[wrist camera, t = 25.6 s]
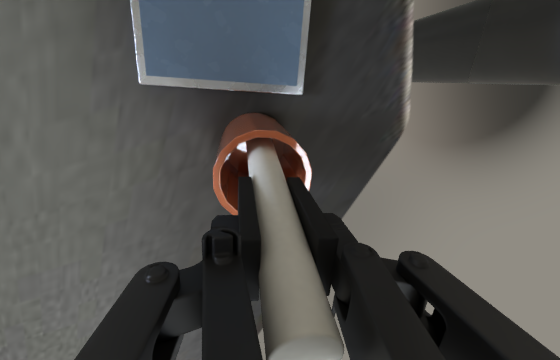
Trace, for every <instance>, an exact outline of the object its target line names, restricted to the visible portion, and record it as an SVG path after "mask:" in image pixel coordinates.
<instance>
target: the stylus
mask: <svg viewBox="0 0 560 360" xmlns="http://www.w3.org/2000/svg"><path fill="white" fill-rule="evenodd" d="M246 148H247V159H248V170H249V177H252V184H253V190H254V196H255V203H256V209H257V215H258V222H259V228H260V234H261V260H260V270H259V275H258V276H259V289H260V299H261V310H262V321H263V331H264V343H265V353H266V360H341V359H342V357H343V354H344V344H343V341H342V339H341V336H340V333H339V330H338V327H337V325H336V322H335V319H334V316H333V313H332V310H331V307H330V304H329V302H328V299H327V296H326V293H325V290H324V287H323V284H322V282H321V279H320V276H319V273H318V270H317V267H316V264H315V262H314V259H313V256H312V253H311V250H310V247H309V245H308V242H307V239H306V236H305V233H304V230H303V227H302V225H301V222H300V219H299V216H298V213H297V210H296V207H295V205H294V202H293V199H292V196H291V193H290V190H289V188H288V185H287V182H286V179H285V176H284V173H283V170H282V168H281V165H280V162H279V159H278V156H277V153H276V150H275V148H274V145H273V142H272V139H271V138H258V137H257V138H254V139H251V140H249V141H246Z"/></svg>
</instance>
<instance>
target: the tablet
mask: <svg viewBox="0 0 560 360" xmlns="http://www.w3.org/2000/svg"><path fill="white" fill-rule="evenodd" d="M311 1H312V0H130V4H131V13H132V22H133V31H134V40H135V49H136V58H137V67H138V76H139V84H140V85H152V86H168V87H183V88H198V89H214V90H229V91H245V92H260V93H276V94H291V95H303V87H304V77H305V66H306V55H307V44H308V34H309V23H310V12H311Z"/></svg>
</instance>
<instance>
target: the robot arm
mask: <svg viewBox="0 0 560 360" xmlns="http://www.w3.org/2000/svg"><path fill="white" fill-rule="evenodd" d="M287 185H288V188H289V190H290V193H291V196H292V199H293V202H294V205H295V207H296V210H297V213H298V216H299V219H300V222H301V225H302V227H303V230H304V233H305V236H306V239H307V242H308V245H309V247H310V250H311V253H312V256H313V259H314V262H315V264H316V267H317V270H318V273H319V276H320V279H321V282H322V284H323V287H324V290H325V293H326V296H329V293H330V288H331V285H332V287H333V289H334V291H335V295H334V301H333V306H332V313H333V316H335V313H336V314H337V317H338V321H339V324H340V327H341V331H342V334H343V337H344V340H345V344H346V347H347V351H348V354H349V357H350V360H560V358H559V357H558V356H556V355H555V354H554V353H552V352H551V351H550V350H549V349H547V348H546V347H545V346H543V345H542V344H541V343H540V342H538V341H537V340H536V339H534V338H533V337H532V336H531V335H529V334H528V333H527V332H525V331H524V330H523V329H522V328H520V327H519V326H518V325H516V324H515V323H514V322H513V321H511V320H510V319H509V318H507V317H506V316H505V315H503V314H502V313H501V312H500V311H498V310H497V309H496V308H495V307H493V306H492V305H491V304H489V303H488V302H487V301H486V300H484V299H483V298H481V297H480V296H479V295H478V294H477V293H475V292H474V291H473V290H471V289H470V288H469V287H468V286H466V285H465V284H464V283H462V282H461V281H460V280H458V279H457V278H456V277H455V276H453V275H452V274H451V273H449V272H448V271H447V270H446V269H444V268H443V267H442V266H441V265H439V264H438V263H437V262H435V261H434V260H433V259H431V258H430V257H428V256H426V255H424V254H421V253H419V252H416V251H404V252H402V253H401V254H400V255H399V259H398V261H397V260H391V259H386V258H380V257H379V255H378V254H377V252H376V251H375V250H374V249H373V248H371V247H370V246H368V245H365V244H362V243H358V241H357V240H356V239H355V237H354V236H353V235H352V233H351V232H350V231H349V230H348V228H347V227H346V225H344V222H343V221H342V220H341V218H339V217H338V216H336V215H335V214H333V213H322V211H321V210H320V208H319V207H318V205H317V203H316V202H315V200H314V199H313V197H312V196H311V194H310V193H309V191H308V189H307V188H306V186H305V185H304V183H303V182H302V180H301V179H300V177H287ZM202 256H203V260H202V261H201V262H200V263H198V264H196V265H194V266H192V267H189V268H186V269H182V270H179V269H178V267H177V266H176V265H175V264H173V263H169V262H156V263H153V264H150V265H147V266H146V267H144V268H142V269H140V270H139V271H138V272H137V273H136V274H135V276H134V277H133V278H132V280H131V281H130V283H129V284H128V285H127V287H126V288H125V290H124V291H123V292H122V294H121V295H120V297H119V298H118V299H117V301H116V302H115V304H114V305H113V306H112V308H111V309H110V311H109V312H108V313H107V315H106V316H105V318H104V319H103V320H102V322H101V323H100V325H99V326H98V327H97V329H96V330H95V332H94V333H93V334H92V336H91V337H90V338H89V340H88V341H87V343H86V344H85V345H84V347H83V348H82V350H81V351H80V352H79V354H78V355H77V357H76V358H75V359H74V360H175V359H176V357H177V354H178V351H179V348H180V345H181V342H182V340H183V336H184V334H185V333H188V332H191V331H193V330H196V329H199V328H201V327H202V360H263V359H262V355H261V349H260V345H259V340H258V335H257V330H256V325H255V320H254V315H253V311H252V306H251V301H258V299H259V276H258V275H259V270H260V260H261V234H260V228H259V222H258V215H257V209H256V203H255V196H254V190H253V184H252V177H238V215H217V216H216V217H215V218H214V219H213V220H212V224H211V230H210V231H208V232H207V233H205V234H204V235H203V238H202ZM427 302H429V303H430V304H431V305H432V306H433V307H434V308H435V309H434V311H433V314H432V315H430V314H429V313H428V312H426V310H425V307H426V304H427Z"/></svg>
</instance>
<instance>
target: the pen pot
mask: <svg viewBox="0 0 560 360" xmlns="http://www.w3.org/2000/svg"><path fill="white" fill-rule="evenodd" d="M257 137H258V138H271V139H272V142H273V145H274V148H275V150H276V153H277V156H278V159H279V162H280V165H281V168H282V170H283V173H284V176H285V179H286V182H287V177H300V179H301V180H302V182H303V183H304V185H305V186H306V188H307V189H308V191H309V190H310V186H311V177H312V169H311V165H310V162H309V159H308V155H307V153H306V152H305V151H304V150H303V148H302V147H301V146H300V145H299V144H298V143H297V142H296V140H295V139H294V138H293V137H292V136H291V135H290V134H289V133H288V132H287V131H286V130H285V129H284V128H283V127H282V126H281V125H280V124H279V123H278V122H277V121H276V120H275V119H273V118H271V117H270V116H267V115H265V114H261V113H247V114H243V115H241V116H239V117H237V118H235V119H234V120H233V121H231V122H230V123H229V125H228V126H227V127H226V128H225V131H224V133H223V135H222V138H221V140H220V144H219V148H218V152H217V156H216V160H215V164H214V167H213V188H214V191H215V193H216V195H217V197H218V199H219V201H220V203H221V205H222V206H223V207H224V208H225V209H226V210H228V211H229V212H230V213H231V214H232V215H238V177H249V170H248V159H247V148H246V141H249V140H251V139H254V138H257Z"/></svg>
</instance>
